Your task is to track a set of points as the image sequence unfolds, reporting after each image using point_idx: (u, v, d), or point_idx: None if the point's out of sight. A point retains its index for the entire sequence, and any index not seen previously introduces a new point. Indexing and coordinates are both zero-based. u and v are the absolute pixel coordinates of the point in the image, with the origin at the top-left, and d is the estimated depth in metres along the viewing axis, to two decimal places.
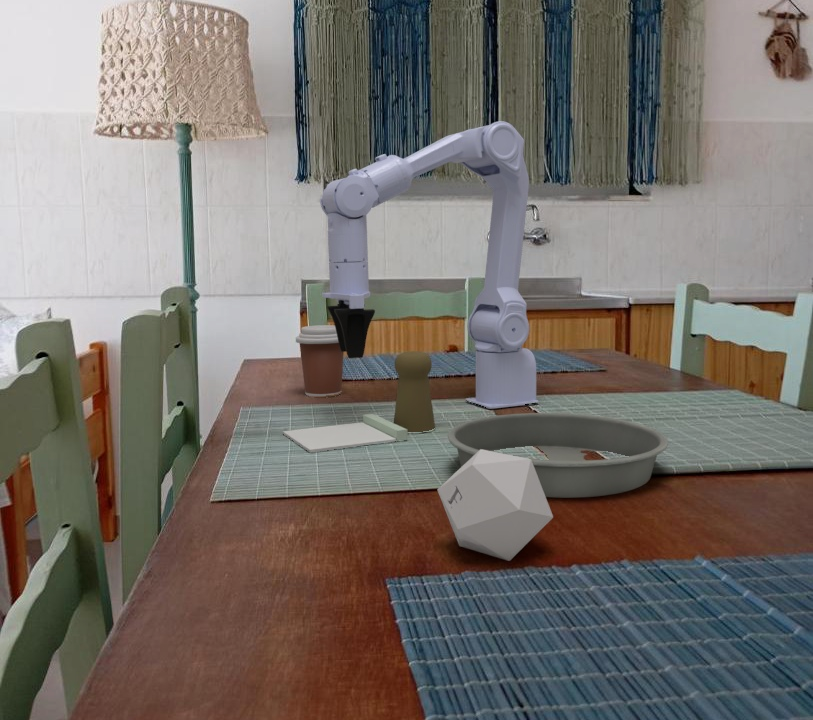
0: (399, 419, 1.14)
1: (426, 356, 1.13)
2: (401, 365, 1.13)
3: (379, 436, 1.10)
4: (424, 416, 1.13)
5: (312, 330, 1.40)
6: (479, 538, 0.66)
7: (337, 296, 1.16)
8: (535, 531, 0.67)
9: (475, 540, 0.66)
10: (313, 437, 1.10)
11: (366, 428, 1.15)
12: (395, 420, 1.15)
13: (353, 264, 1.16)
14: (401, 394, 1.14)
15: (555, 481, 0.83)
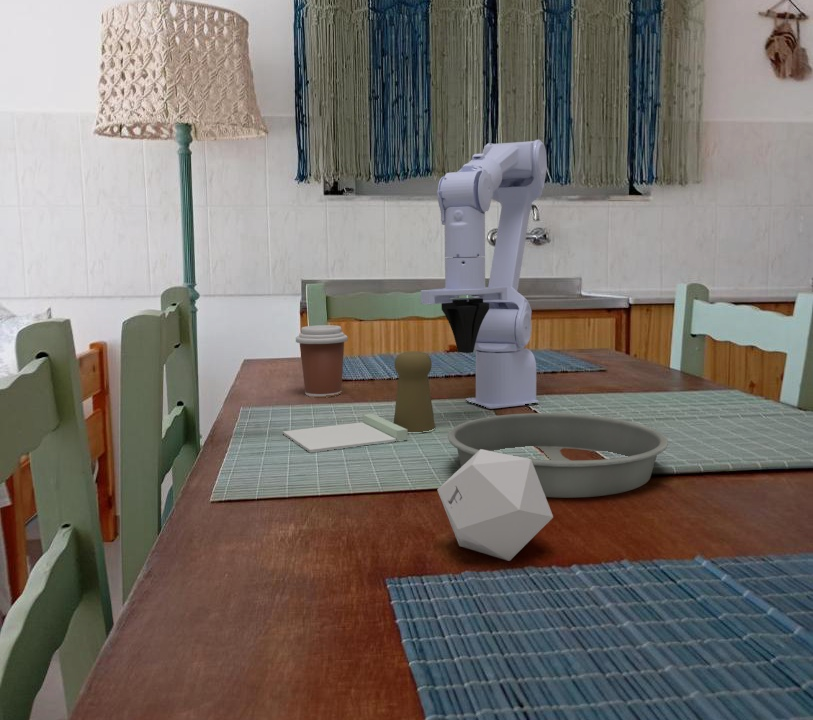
0: (399, 419, 1.14)
1: (426, 356, 1.13)
2: (401, 365, 1.13)
3: (379, 436, 1.10)
4: (424, 416, 1.13)
5: (312, 330, 1.40)
6: (479, 538, 0.66)
7: None
8: (535, 531, 0.67)
9: (475, 540, 0.66)
10: (313, 437, 1.10)
11: (366, 428, 1.15)
12: (395, 420, 1.15)
13: (451, 260, 1.14)
14: (401, 394, 1.14)
15: (555, 481, 0.83)
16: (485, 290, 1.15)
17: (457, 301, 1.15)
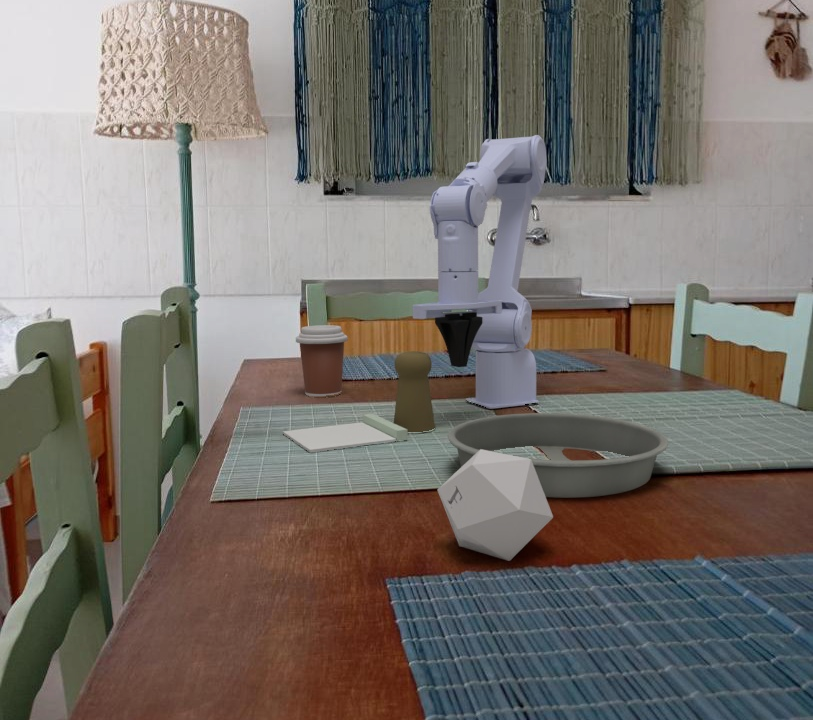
0: (399, 419, 1.14)
1: (426, 356, 1.13)
2: (401, 365, 1.13)
3: (379, 436, 1.10)
4: (424, 416, 1.13)
5: (312, 330, 1.40)
6: (479, 538, 0.66)
7: None
8: (535, 531, 0.67)
9: (475, 540, 0.66)
10: (313, 437, 1.10)
11: (366, 428, 1.15)
12: (395, 420, 1.15)
13: (443, 274, 1.14)
14: (401, 394, 1.14)
15: (555, 481, 0.83)
16: (478, 304, 1.15)
17: (450, 315, 1.15)
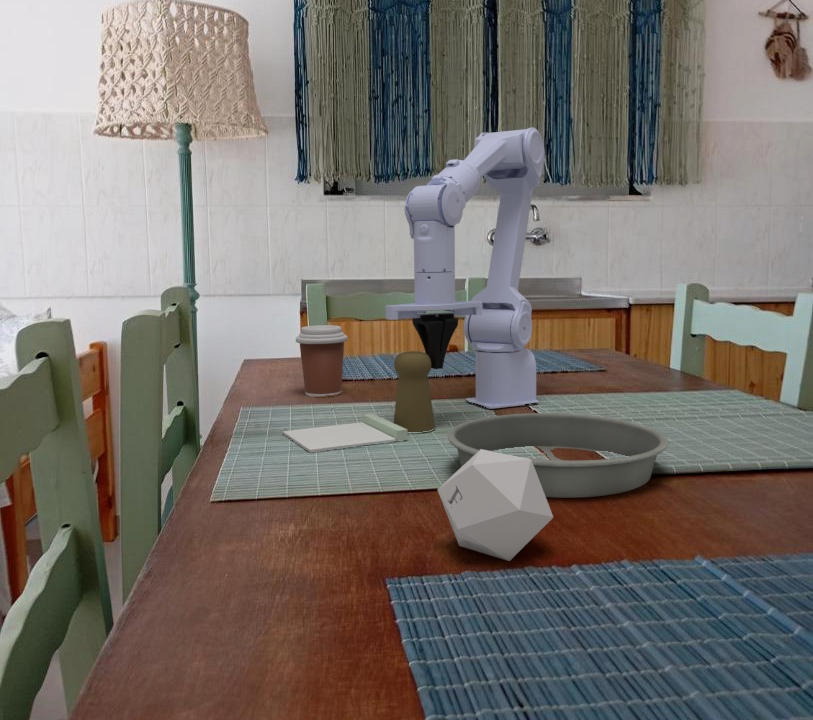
0: (399, 419, 1.14)
1: (426, 356, 1.13)
2: (401, 365, 1.13)
3: (379, 436, 1.10)
4: (424, 416, 1.13)
5: (312, 330, 1.40)
6: (479, 538, 0.66)
7: None
8: (535, 531, 0.67)
9: (475, 540, 0.66)
10: (313, 437, 1.10)
11: (366, 428, 1.15)
12: (395, 420, 1.15)
13: (417, 274, 1.13)
14: (401, 394, 1.14)
15: (555, 481, 0.83)
16: (453, 305, 1.13)
17: (424, 316, 1.13)
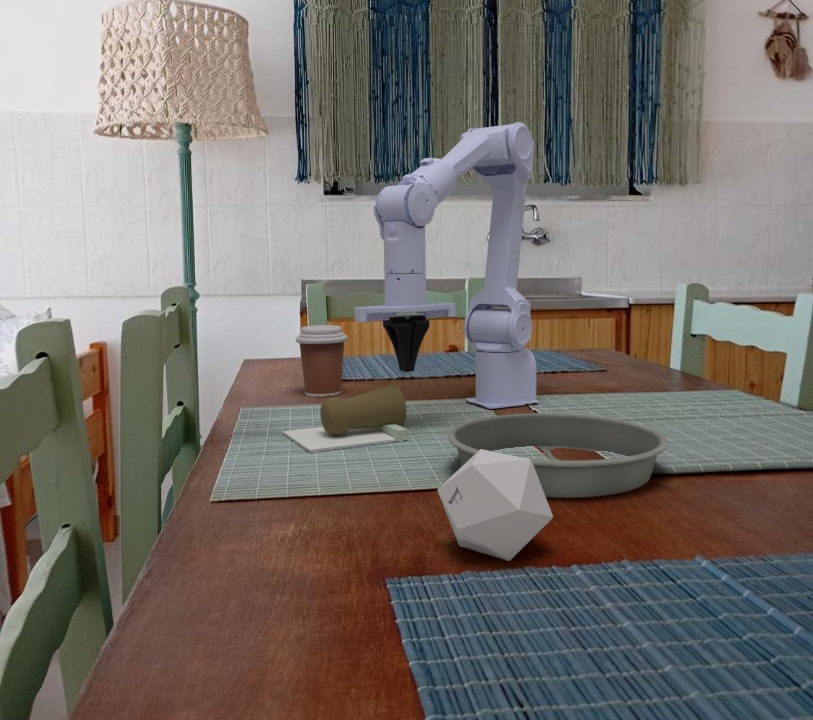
0: None
1: (330, 411, 1.08)
2: None
3: (379, 436, 1.10)
4: (390, 408, 1.11)
5: (312, 330, 1.40)
6: (479, 538, 0.66)
7: None
8: (535, 531, 0.67)
9: (475, 540, 0.66)
10: (313, 437, 1.10)
11: (366, 428, 1.15)
12: None
13: (387, 276, 1.11)
14: (365, 427, 1.12)
15: (555, 481, 0.83)
16: (423, 307, 1.11)
17: (394, 318, 1.12)
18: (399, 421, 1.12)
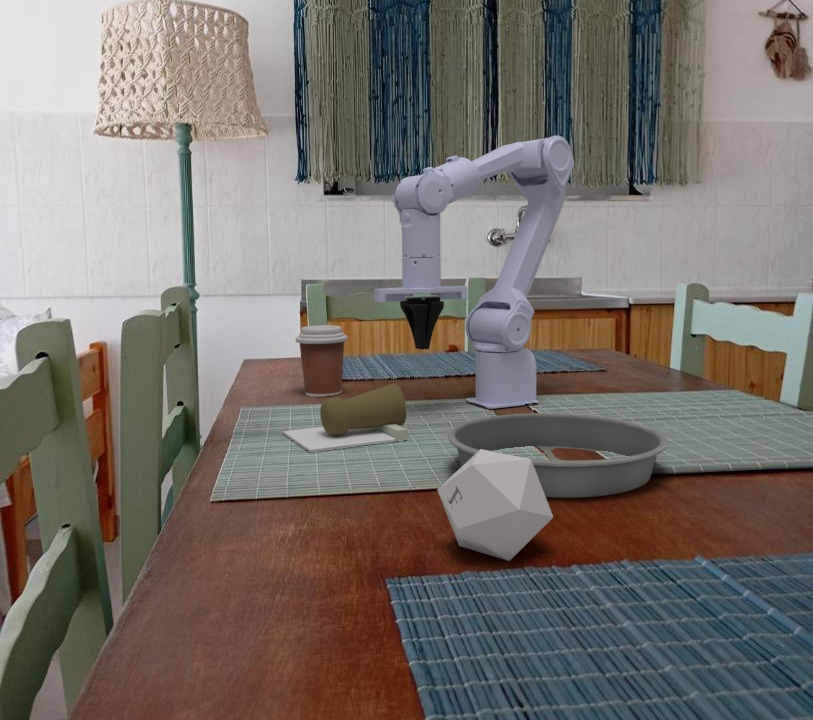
0: None
1: (330, 411, 1.08)
2: None
3: (379, 436, 1.10)
4: (390, 408, 1.11)
5: (312, 330, 1.40)
6: (479, 538, 0.66)
7: None
8: (535, 531, 0.67)
9: (475, 540, 0.66)
10: (313, 437, 1.10)
11: (366, 428, 1.15)
12: None
13: (405, 260, 1.19)
14: (365, 427, 1.12)
15: (555, 481, 0.83)
16: (438, 289, 1.20)
17: (411, 299, 1.20)
18: (399, 421, 1.12)
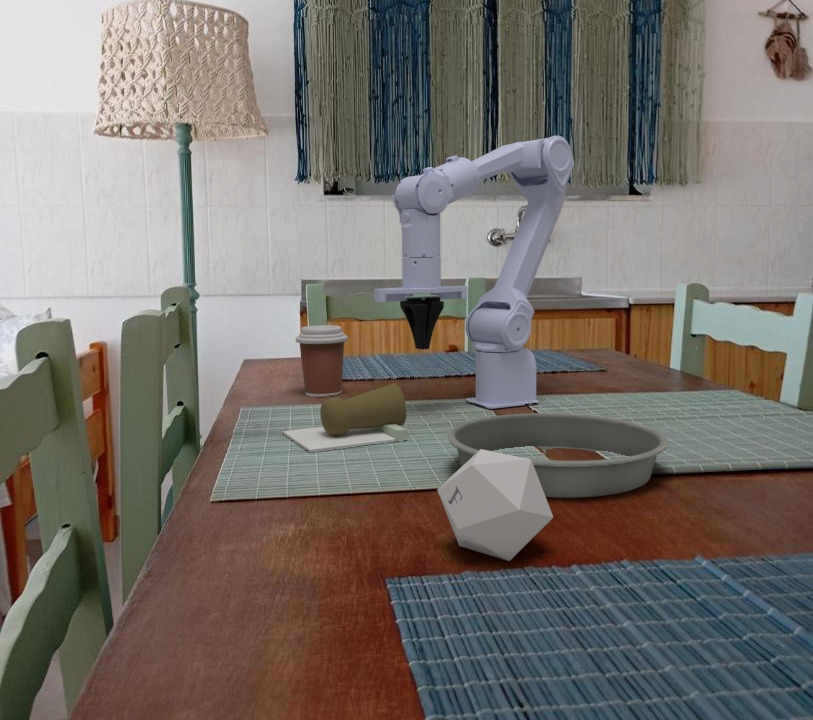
0: None
1: (330, 411, 1.08)
2: None
3: (379, 436, 1.10)
4: (390, 409, 1.11)
5: (312, 330, 1.40)
6: (479, 538, 0.66)
7: None
8: (535, 531, 0.67)
9: (475, 540, 0.66)
10: (313, 437, 1.10)
11: (366, 428, 1.15)
12: None
13: (405, 260, 1.19)
14: (365, 427, 1.12)
15: (555, 481, 0.83)
16: (438, 289, 1.20)
17: (411, 299, 1.20)
18: (399, 421, 1.12)
